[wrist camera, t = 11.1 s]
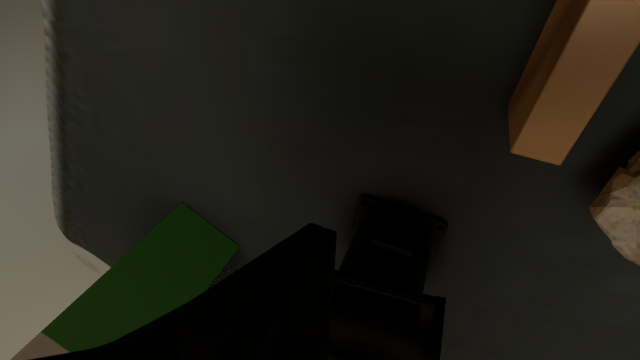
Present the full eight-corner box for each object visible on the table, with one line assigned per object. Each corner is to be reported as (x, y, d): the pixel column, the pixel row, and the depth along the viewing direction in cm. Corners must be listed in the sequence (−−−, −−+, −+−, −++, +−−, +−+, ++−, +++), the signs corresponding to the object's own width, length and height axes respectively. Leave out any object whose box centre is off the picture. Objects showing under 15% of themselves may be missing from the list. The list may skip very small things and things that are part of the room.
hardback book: (194, 299, 48) (18, 523, 30) (150, 266, 47) (-56, 476, 30) (239, 246, 36) (-6, 563, 18) (182, 202, 36) (-129, 486, 18)
